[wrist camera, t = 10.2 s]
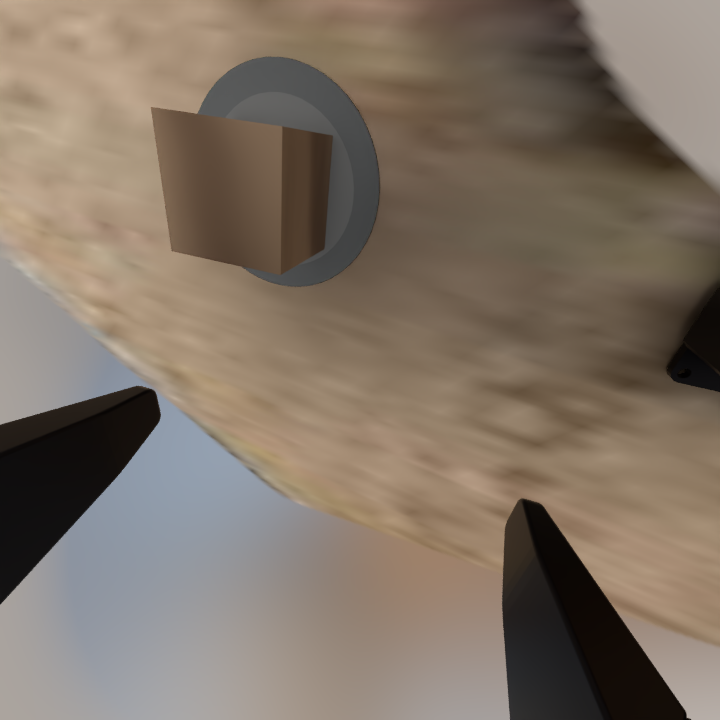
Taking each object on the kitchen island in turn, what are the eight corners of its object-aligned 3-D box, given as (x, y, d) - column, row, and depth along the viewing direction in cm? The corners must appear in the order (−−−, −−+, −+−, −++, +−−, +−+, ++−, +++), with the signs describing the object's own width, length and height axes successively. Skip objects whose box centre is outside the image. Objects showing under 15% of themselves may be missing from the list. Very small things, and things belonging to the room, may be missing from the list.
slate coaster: (396, 69, 14) (396, 68, 14) (364, 302, 19) (364, 303, 19) (178, 47, 16) (176, 46, 16) (202, 266, 21) (201, 267, 21)
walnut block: (333, 135, 16) (282, 126, 12) (324, 248, 18) (280, 274, 14) (232, 120, 17) (150, 107, 12) (237, 231, 19) (171, 250, 15)
